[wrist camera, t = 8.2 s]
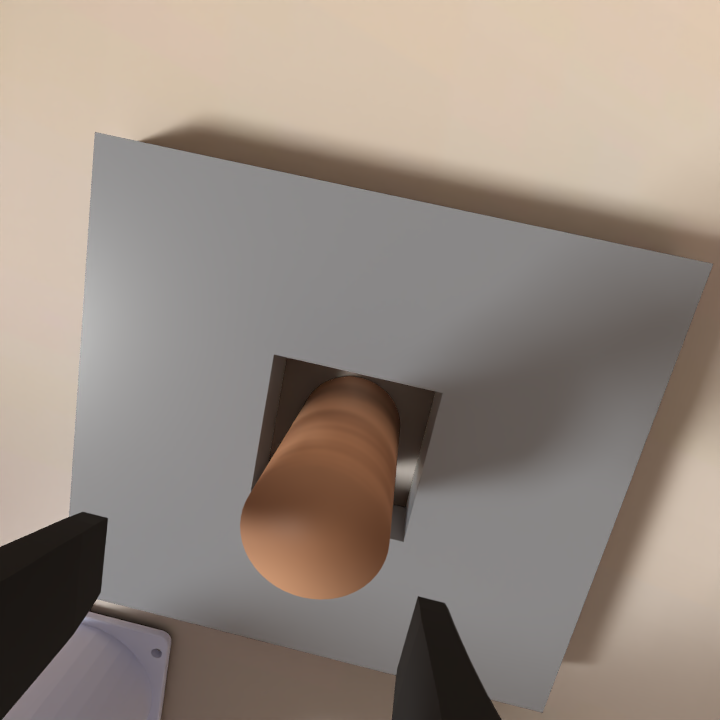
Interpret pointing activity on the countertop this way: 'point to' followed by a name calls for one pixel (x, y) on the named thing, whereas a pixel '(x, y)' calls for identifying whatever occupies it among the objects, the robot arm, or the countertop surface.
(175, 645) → the countertop surface
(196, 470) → the socket plate
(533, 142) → the countertop surface
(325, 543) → the peg
